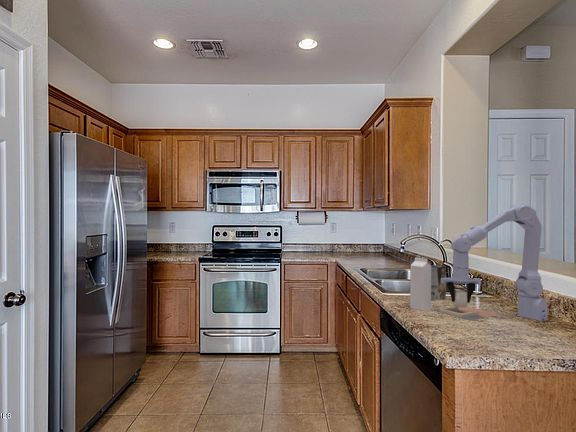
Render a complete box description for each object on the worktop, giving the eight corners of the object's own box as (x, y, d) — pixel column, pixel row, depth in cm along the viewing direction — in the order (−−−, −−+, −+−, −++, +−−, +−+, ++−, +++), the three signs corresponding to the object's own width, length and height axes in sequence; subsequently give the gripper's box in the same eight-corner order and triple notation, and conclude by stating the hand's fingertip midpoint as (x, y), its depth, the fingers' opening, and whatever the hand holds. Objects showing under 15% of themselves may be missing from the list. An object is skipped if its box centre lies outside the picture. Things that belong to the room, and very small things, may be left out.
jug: (469, 308, 151) (469, 293, 151) (455, 307, 152) (455, 292, 152) (463, 303, 160) (463, 288, 160) (450, 302, 162) (450, 288, 162)
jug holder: (501, 317, 153) (501, 311, 153) (469, 323, 144) (469, 317, 144) (461, 307, 169) (461, 302, 169) (430, 312, 160) (430, 306, 160)
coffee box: (439, 302, 178) (440, 267, 178) (425, 300, 182) (426, 266, 183) (446, 299, 186) (446, 265, 186) (432, 297, 190) (432, 264, 190)
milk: (422, 313, 158) (423, 259, 158) (409, 310, 163) (410, 257, 163) (431, 311, 162) (431, 258, 162) (418, 308, 167) (418, 256, 167)
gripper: (477, 267, 157) (477, 300, 157) (439, 265, 160) (439, 298, 160) (482, 269, 150) (482, 304, 150) (442, 268, 154) (442, 302, 154)
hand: (460, 301), depth 155 cm, fingers closed on jug, 5 cm apart
